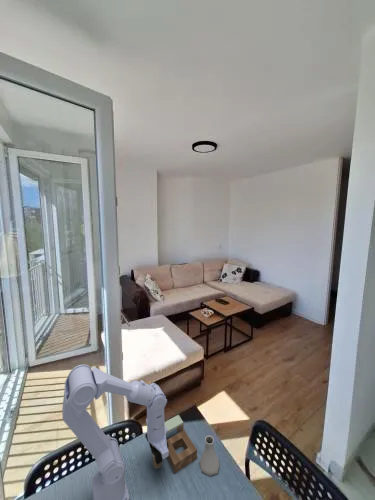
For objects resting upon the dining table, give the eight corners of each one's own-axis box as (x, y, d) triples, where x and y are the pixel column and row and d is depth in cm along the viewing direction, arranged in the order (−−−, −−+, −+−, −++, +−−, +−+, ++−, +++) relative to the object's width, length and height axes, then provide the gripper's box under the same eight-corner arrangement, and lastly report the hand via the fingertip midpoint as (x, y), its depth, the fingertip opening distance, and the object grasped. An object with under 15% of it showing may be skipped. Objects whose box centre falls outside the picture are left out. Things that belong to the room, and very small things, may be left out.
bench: (162, 449, 83) (162, 434, 82) (158, 440, 86) (157, 425, 85) (183, 436, 87) (183, 422, 86) (178, 428, 91) (178, 414, 90)
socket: (174, 473, 75) (174, 464, 74) (163, 450, 82) (163, 442, 82) (197, 458, 79) (197, 449, 79) (184, 437, 87) (184, 429, 86)
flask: (219, 454, 80) (219, 430, 79) (220, 477, 73) (220, 451, 72) (199, 453, 81) (199, 428, 80) (198, 475, 74) (198, 449, 73)
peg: (155, 470, 74) (154, 449, 73) (151, 462, 77) (150, 441, 76) (163, 465, 76) (162, 444, 75) (159, 457, 79) (159, 437, 78)
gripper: (176, 433, 70) (177, 470, 72) (158, 402, 83) (159, 434, 84) (156, 445, 67) (157, 483, 68) (139, 410, 79) (141, 444, 81)
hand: (157, 457), depth 76 cm, fingers closed on peg, 3 cm apart
